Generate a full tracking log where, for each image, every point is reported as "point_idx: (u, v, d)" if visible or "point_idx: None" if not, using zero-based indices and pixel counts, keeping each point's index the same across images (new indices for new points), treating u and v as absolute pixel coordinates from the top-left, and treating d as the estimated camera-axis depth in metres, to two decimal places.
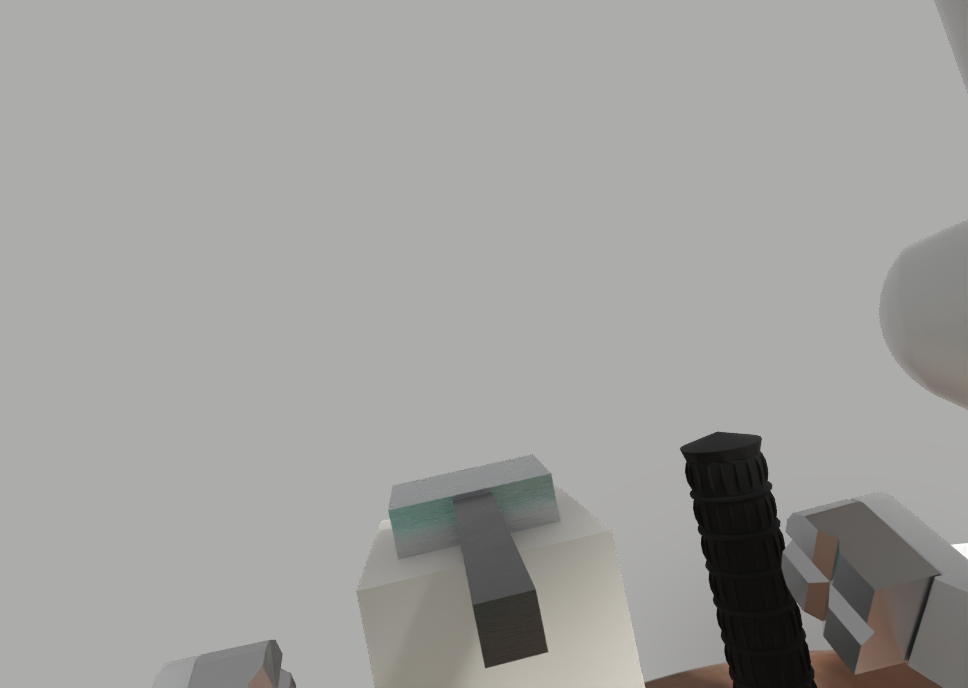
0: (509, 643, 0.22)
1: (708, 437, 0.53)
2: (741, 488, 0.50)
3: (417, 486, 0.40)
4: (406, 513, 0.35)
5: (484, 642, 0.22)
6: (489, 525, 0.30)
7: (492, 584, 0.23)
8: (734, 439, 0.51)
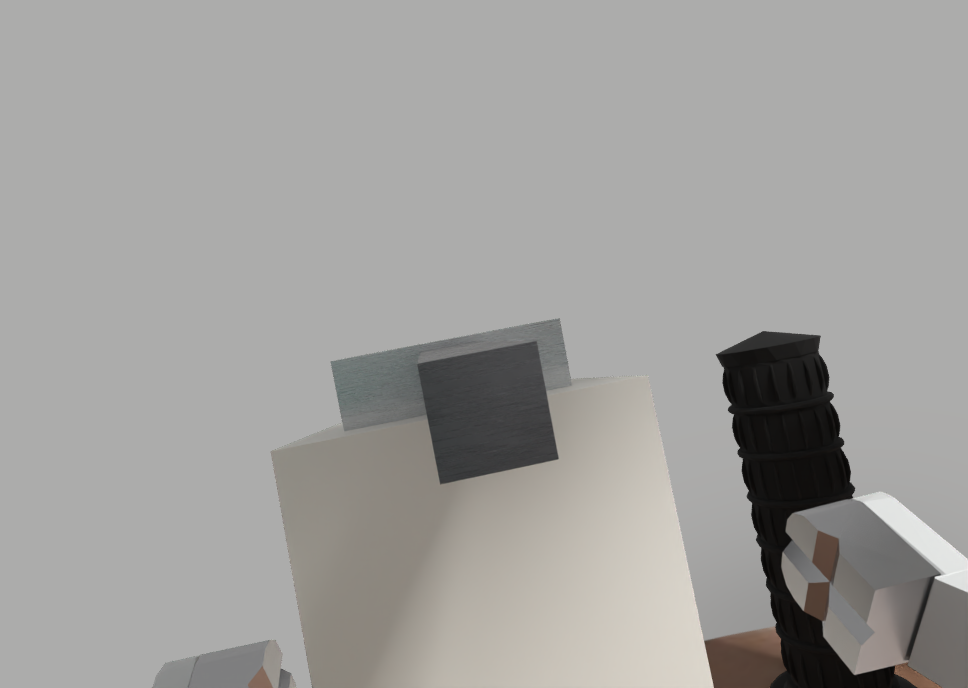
0: (486, 439, 0.12)
1: (752, 337, 0.43)
2: (797, 393, 0.39)
3: (378, 352, 0.29)
4: (356, 366, 0.25)
5: (439, 435, 0.12)
6: (468, 345, 0.20)
7: (459, 353, 0.13)
8: (786, 335, 0.41)
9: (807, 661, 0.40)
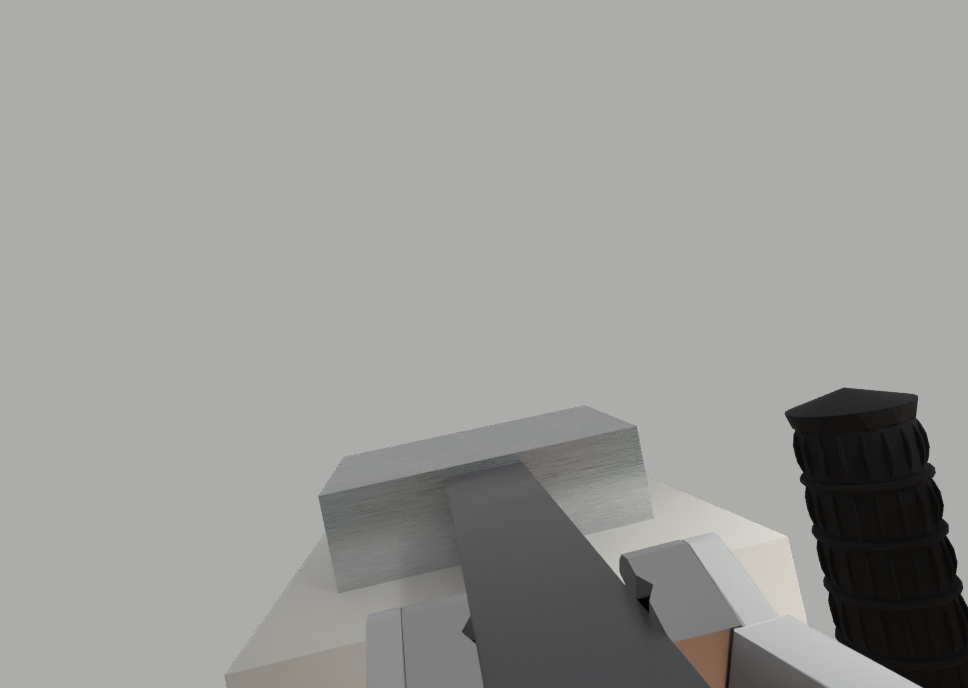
0: None
1: (831, 395, 0.35)
2: (895, 470, 0.32)
3: (384, 456, 0.22)
4: (354, 502, 0.18)
5: None
6: (532, 525, 0.13)
7: None
8: (877, 396, 0.34)
9: None
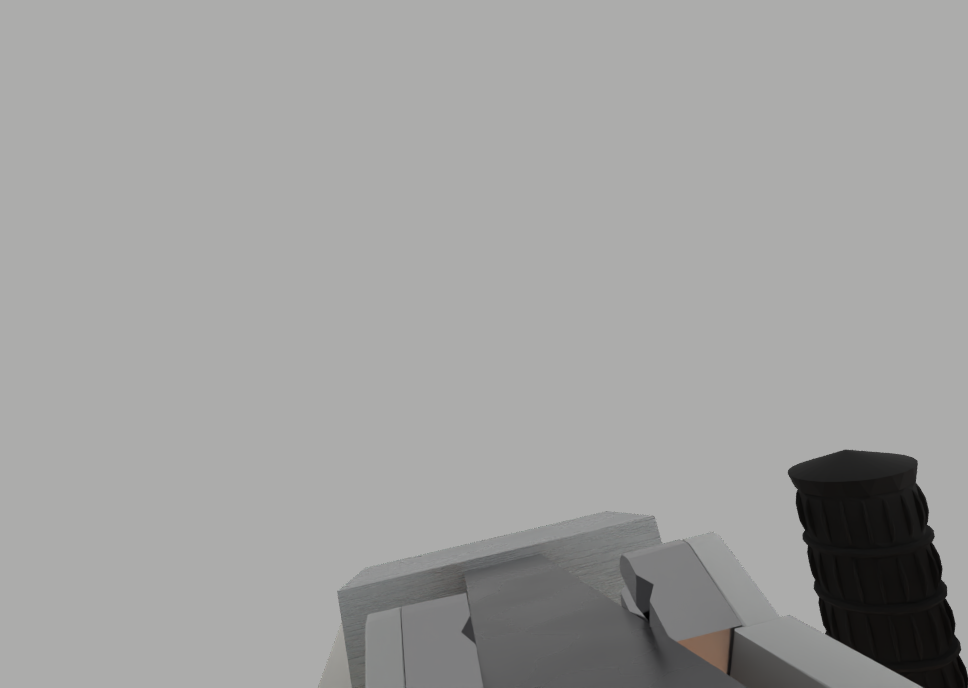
0: None
1: (833, 458, 0.36)
2: (895, 536, 0.33)
3: (405, 562, 0.22)
4: (373, 598, 0.18)
5: None
6: (544, 587, 0.13)
7: None
8: (878, 462, 0.35)
9: None
